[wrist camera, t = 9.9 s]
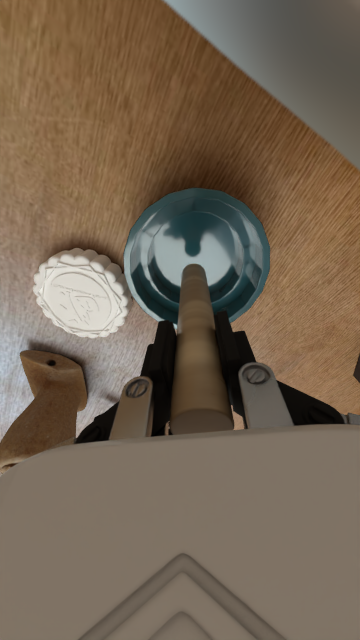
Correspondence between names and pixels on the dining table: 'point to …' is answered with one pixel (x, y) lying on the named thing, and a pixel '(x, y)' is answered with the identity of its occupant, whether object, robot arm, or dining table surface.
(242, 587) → the robot arm
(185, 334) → the stick
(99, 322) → the mooncake
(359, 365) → the holder
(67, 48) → the dining table surface
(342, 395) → the dining table surface
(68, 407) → the brown hollow clay piece
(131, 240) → the bowl
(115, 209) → the dining table surface
